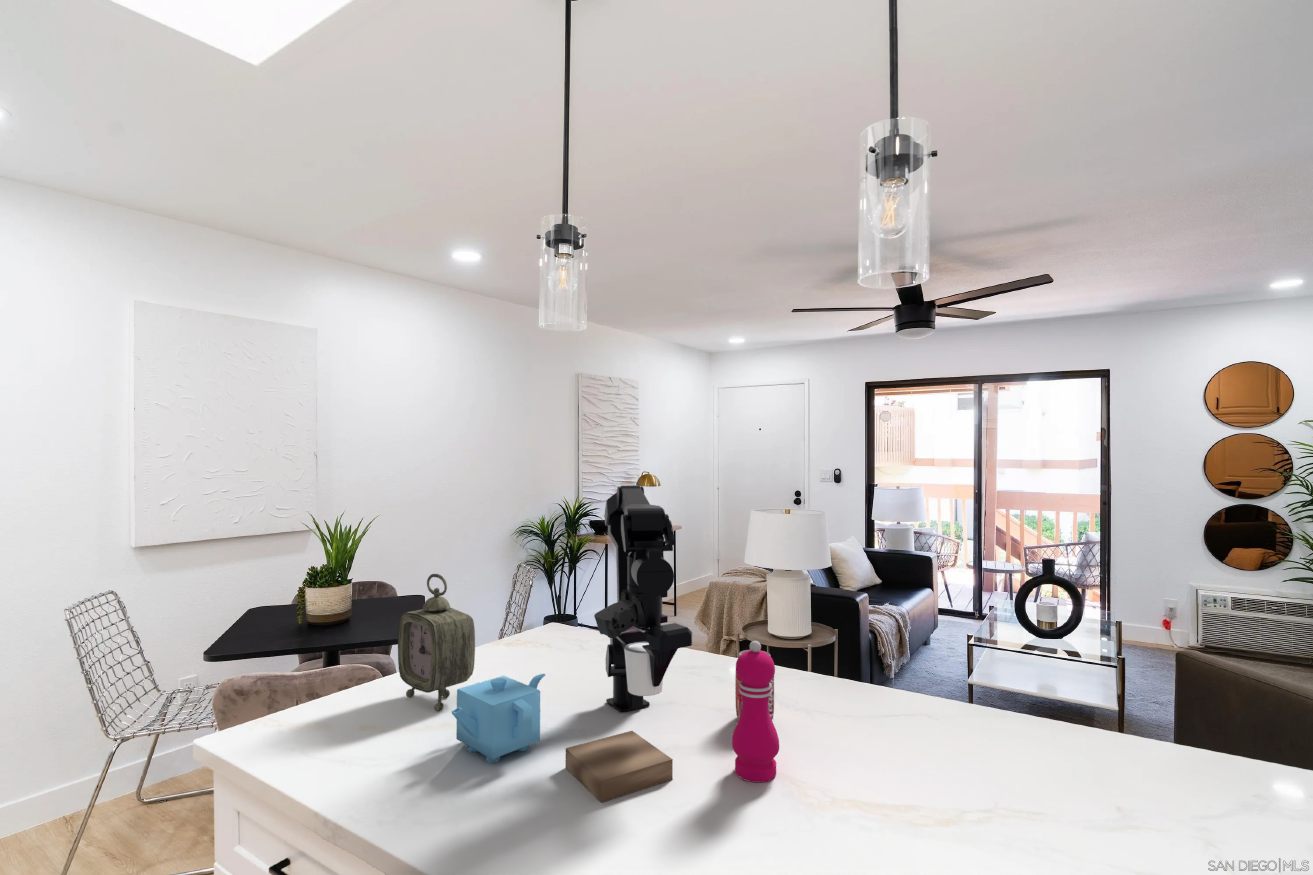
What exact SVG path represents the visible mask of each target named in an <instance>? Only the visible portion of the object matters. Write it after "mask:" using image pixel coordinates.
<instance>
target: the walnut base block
mask: <svg viewBox="0 0 1313 875" xmlns="http://www.w3.org/2000/svg"><path fill="white" fill-rule="evenodd" d="M673 760H674V759H673V758H672V757H670V756H669V755H667V754H666V753H665V752H663V751H661V750H660V749H658V748H657V747H656V746H655V745H654V744H651V743H650V742H649V741H648V740H646V738H643V737H642V736H640V735H639V734H638V733H637V732H635V731H633V730H630V731H629V730H628V731H625V732H621V733H617V734H614V735H610V736H606V737H602V738H598V739H595V740H591V741H588V742H583V743H580V744H576V745H573V746H569V747H565V769H566V770H567V771H568V772H569V773H571V775H572V776H574V777H575V778H576V780H578V781H579V782H580V783H581V784H582V786H584V788H586V789H587V790H588V791H589V792H590V793H591V794H592V795H593V797H595V798H596V799H597V800H598V801H599V802H600V803H604V802H607V801H611V800H613V799H617V798H619V797H623V796H626V795H629V794H633V793H635V792H638V791H642V790H644V789H648V788H651V787H654V786H657V785H661V784H663V783H666V782H669V781H672V780H673V770H674V769H673Z"/></svg>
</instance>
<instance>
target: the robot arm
mask: <svg viewBox="0 0 1313 875" xmlns="http://www.w3.org/2000/svg"><path fill="white" fill-rule="evenodd" d="M604 524H605V526H607V535H608V537H609V538H610V540H611V541H612V543H613V544H614V546H615V551H616V552H615V554H616V557H615V559H616V560H615V561H616V594H617V595H616V599H617V600H616V601H617V602H614V603H612V604H610V605H608V606H606V607H605V608H603V609H601V610H599V611H598V612H595V613H594V614H593V615H594V616H593V617H594V620H595V622H596V625H597V630H598V631H599V632H598V633H599V634H600V635H604V636H607V638H608V639H609V643H608V644H607V645H606V651H605V652H606V653H605V671H606V676H607V678H611V677H612V697H610V698H606V700H605V702H606V703H607V704H609V705H610V707H611V706H612V707H613V708H614V709H616V710H617V711H618V712H621V713H625V712H629V711H632V710H637V709H641V708H646V707H649V706H651V704H650V702H649V701H648V700H646V699H644V696H638V695H633V694H631V693H629V691H628V685H627V674H626V663H625V651H624V647H625V646H626V645H628V644H631V643H635V642H648V643H649V645H643V646H642V647H643V648H644V649H645V650H646V651H647V652H648V654H649V656H650V667H651V678H652V685H653V686H654V687H657V686H659V685H660V683H661V681H662V679H663V680H664V677H665V675H666V673H667V670H668V668H669V665H670V664H671V662H672V660H673V658H674V656H675V655H676V652H677V651H678V649H682V648H687V647H692V646H693V632H692V631H691V629H690V628H689V627H688V626H684V625H683V624H679V623H676V622H673V623H668V615H665V614H663V598H668V595H669V594H668V591H669V590H670V589H671V588H672V586H673V584H674V580H675V573H674V569H673V567H672V565H671V564H670V563H669V562H668V561H667V560H666V559H665V556H664V552H673V550H674V546H675V542H676V540H675V539H676V538H675V534H674V529H673V523H672V520H670V516H669V514H668V513H666V512H665V509H664V508H663V507H662V506H660V505H656V504H651V503H650V502H649V500H648V499H647V496H646V495H645V489H644V486H641V485H638V484H637V485H635V484H633V485H620V486H617V488H616V492H615V493H614V494H613V495H612V496H610V497H609V498H607V499H606V502H605V508H604ZM665 623H668V624H665Z"/></svg>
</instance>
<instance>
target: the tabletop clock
mask: <svg viewBox="0 0 1313 875" xmlns="http://www.w3.org/2000/svg"><path fill="white" fill-rule="evenodd" d="M432 578H438V579H439V580H440V581H442V583H443V586H444V588H443V591H441V592H440V588H439V587H435V588H434V589H432V587H431V586H430V585H431V584H430V581H431V580H432ZM447 584H448V583H447V581H446V578H444V577H443V576H442V575H441V574H439V573H432V574H430V575H429V576H428V578H427V580H426V587H427V590H428V591H429V593H430V594H431V595H433V596H431V597H429V598H428V599H427V600H425V602H424V603H423V606H422V609H417V610H411V611H407V612H403V613H401V614H400V618H399V621H398V623H399V624H398V630H397V631H398V633H397V634H398V637H397V665H398V671H399V678H400V679H401V680H402V681H403V682H404V683H405V684H407V685H408V686H410V687H411V688H409V689H407V690H406V693H405V696H406V697H407V698H413V697H414V695H415V690H417V691H420V692H423V693H432V692H436V691H437V693H438V696H437V702H436V703H435V704H434V710H435V711H436V712H441V711H443V709H444V703H442V700H443V699H442V698H444V699H448V698H449V696H450V695H451V692H450V690H449V689H447V688H449V687H452V686H455V685H459V684H462V683H465V682H467V681H468V680H469V679H470V677H471V676H472V675H473V674H474V673H473V672H474V671H475V670H474V669H475V660H476V658H475V656H476V631H475V630H476V628H475V623H474V618H472V616H471V615H469V614H468V613H466V612H465V613H464V612H463V611H460V610H458V609H455V608H453V607H451V605H450V602H449V601H448V600H447V599H446V597H443V596H444V595H445V594H446V593H447V589H448V585H447Z"/></svg>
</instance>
